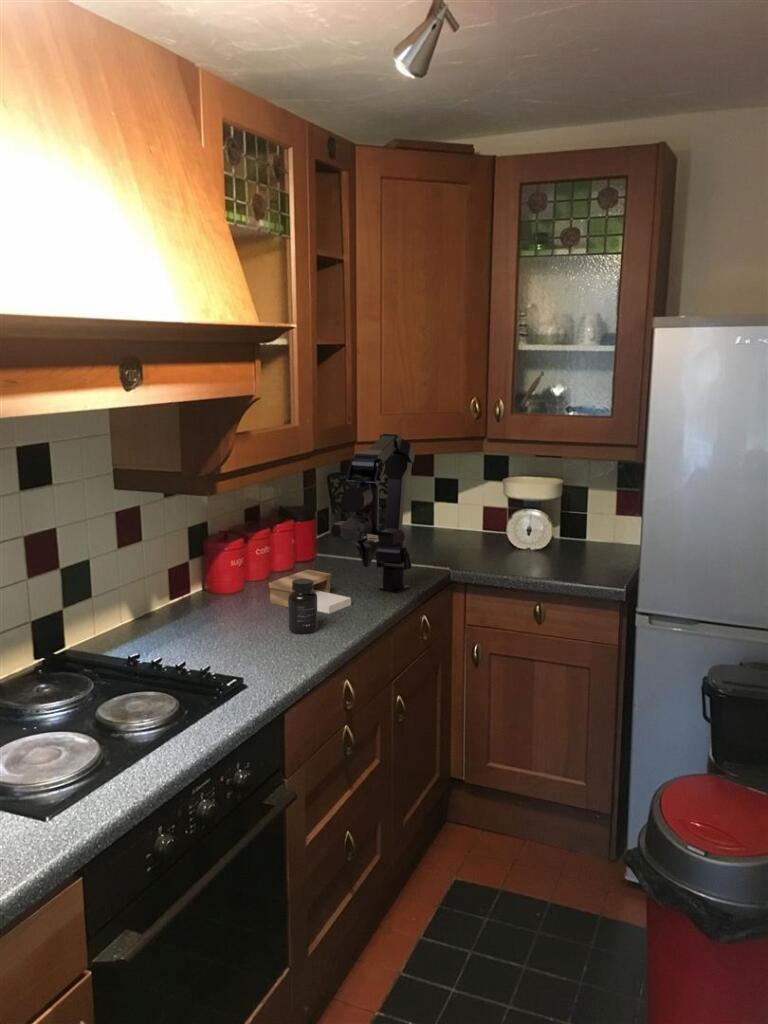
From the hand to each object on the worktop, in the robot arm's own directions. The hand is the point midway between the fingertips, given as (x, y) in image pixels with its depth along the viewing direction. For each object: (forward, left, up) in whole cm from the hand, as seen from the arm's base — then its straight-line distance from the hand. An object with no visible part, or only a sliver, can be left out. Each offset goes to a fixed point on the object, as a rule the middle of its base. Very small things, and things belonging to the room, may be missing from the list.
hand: (366, 566), depth 213 cm
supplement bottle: (+19, -5, -12) cm, 23 cm away
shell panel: (+1, -15, -12) cm, 20 cm away
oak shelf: (0, -21, -12) cm, 24 cm away
